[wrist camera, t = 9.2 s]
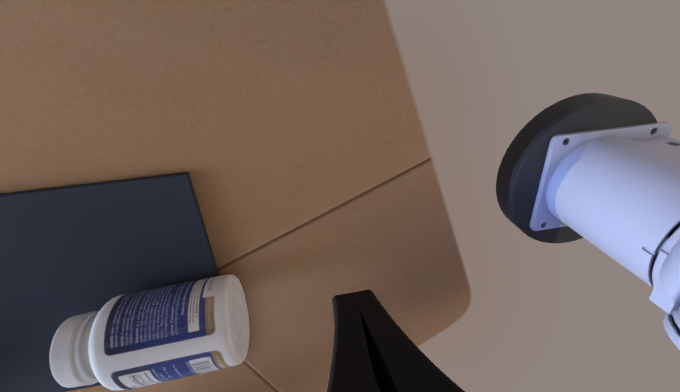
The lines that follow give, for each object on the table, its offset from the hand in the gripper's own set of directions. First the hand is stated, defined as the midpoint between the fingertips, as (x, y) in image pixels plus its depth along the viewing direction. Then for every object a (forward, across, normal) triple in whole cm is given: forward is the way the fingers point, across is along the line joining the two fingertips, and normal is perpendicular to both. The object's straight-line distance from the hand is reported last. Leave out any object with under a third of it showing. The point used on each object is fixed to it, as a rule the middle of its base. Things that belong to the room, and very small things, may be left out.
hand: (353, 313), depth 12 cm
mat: (+11, +17, +6) cm, 21 cm away
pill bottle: (+7, +6, +7) cm, 11 cm away
